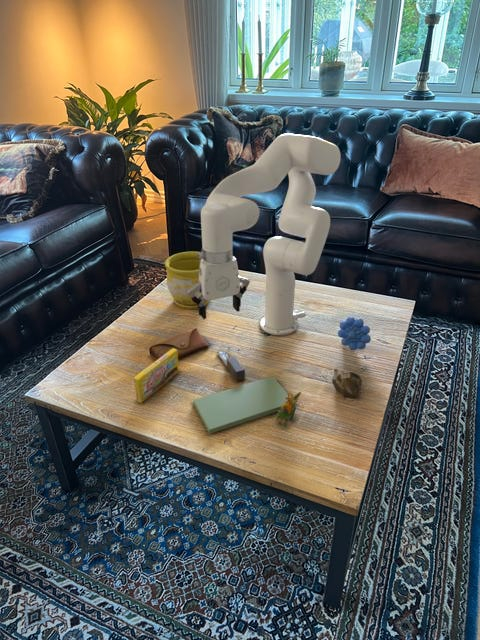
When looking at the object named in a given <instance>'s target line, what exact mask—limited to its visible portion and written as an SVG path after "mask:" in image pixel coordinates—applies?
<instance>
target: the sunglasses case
mask: <svg viewBox="0 0 480 640" xmlns="http://www.w3.org/2000/svg"><path fill="white" fill-rule="evenodd" d="M210 346H211V344H210V343H209V342H207V341H206V339H205V338H204V337H203V335H202V334H201V332H200V331H199V330H198V328H197V327H195V328H193V329H191V330H189V331H187V332H183V333H180V334H178V335H176V336H173V337H171V338H168V339H166V340H164V341H161V342H159V343H156V344H154V345H151V346H150V347H149V349H148V351H149V355H150V357H151V358H152V359H153V360H154V362H155V361H157V360H158V359H159V358H160V357H162V356H163V355H164V354H166V353H167V352H168V351H170V350H171V349H172V348H174V349H176V350H177V353H178V360H180V359H181V358H184V357H187V356H188V355H192V354H193V353H196V352H199V351H200V350H203V349H205V348H208V347H210Z"/></svg>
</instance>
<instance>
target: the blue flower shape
mask: <svg viewBox="0 0 480 640" xmlns="http://www.w3.org/2000/svg"><path fill="white" fill-rule="evenodd" d="M364 322H365V321H364V319H362V318H356V319H355V318H354V316H348V317H347V318H346V319H345V320H343V321H341V322H340V323H339V330H338V332H337V336H338V337H339V338H341V345H343V347H344V346H345V347H347V346H348V349H349V350H350V351H352V352H354V351H356V350H360V351H362V350H365V349H366V347H367V344H369V343H370V342H371V340H372V338H371V337H372V336H371V335H369V334H370V332H371V328H370V326H369V325H367V324H366V325H364V324H365V323H364Z"/></svg>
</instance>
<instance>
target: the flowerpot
mask: <svg viewBox="0 0 480 640" xmlns="http://www.w3.org/2000/svg"><path fill="white" fill-rule="evenodd" d="M200 252H201V251H183V252H179V253H175V254H172V255H171V256H169V257H168V258H166V260H164V268H165V270H166V271H165V272H166V285H167V289H168V292H169V294H170V296H172V298H173V302H174V303H175V304H176V305H177V306H178V307H180V308H183V309H187V310H196V309H197V310H198V304H196V303H195V302H193V301H192V299H191V298H190V296H189V295H188V294H187V290H189V289H190V288H192V287H193V286H195V285H196V284H197V283H199V269H200V262H201V258H199V259H198V256H197V254H198V253H200ZM202 259H203V258H202ZM199 294H200V292H199V291H197V292H196V293H195V294H194V295H195V296H196V297H198V296H199ZM210 302H211V300H207V301H206V302H205V304H204V305H205V306H207V305H209V303H210Z"/></svg>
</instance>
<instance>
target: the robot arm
mask: <svg viewBox="0 0 480 640" xmlns="http://www.w3.org/2000/svg"><path fill="white" fill-rule="evenodd" d="M341 159H342V157H341V151H340V148H339V147H338V145H336V144H335V143H333V142H329V141H328V140H326V139H325V140H324V139H323V138H320V137H316V136H312V135H306V134H305V135H304V134H294V133H283V134H280V135H278V136H277V137H276V138H275V139H274V140H273V141H272V142H271V143H270V145H268V147H267V148H266V149H265V150H264V151H263V153H262V154H261V155H260V156H259V157H258V159H257V160H256V161H255V162H254V164H252V165H249V166H247V167H244V168H242V169H240V170H239V171H236V172H234V173H231V174H230V175H228V176H226V177H225V178H223V179H222V180H221V181H220V182H219V183H218V184H217V185H216V186H215V188H214V189H213V190H212V191H211V192H210V194H209V195H208V196H207V199H206V201H205V204H204V206H202V208H201V209H200V227H201V245H202V247H201V251H199V252H200V253H198V254H197V256H198V259H199V258H201V262H200V269H199V283H197V284H196V285H195V286H193V287H192V288H190V289H189V290H187V294H188V295H189V296H190V298H191V299H192V301H193V302H195V303H196V304H198V308H197V314H198V315H199V316H200V317H201V318H202V320H207V308H206V305H204V304H205V302H206V301H207V300H210V301H214V300H219V299H224V298H229V297H232V308H233V309H234V310H235V311H236V312H240V311H241V310H240V308H241V307H242V301H241V300H242V298H243V296H244V294H245V293H246V291H247V288H248V287H249V285H250V283H251V281H250V279H249V278H247V277H244V276H240V271H239V267H238V261H237V258H236V257H235V256H234V249H233V247H234V245H233V243H234V241H233V233H235V232H240V231H246V230H248V229H251V228H252V227H253V226H254V225H256V223H258V221H259V217H260V209H259V206H258V204H257V203H256V202H255V201H254V200H251V199H249V198H244V197H245V196H251V195H256V194H257V195H258V194H262V193H267V192H271V191H273V190H275V189H277V188H278V186H279V185H280V184H281V183H282V181H283V180H284V179H285V178H286V176H288V189H287V191H286V196H285V199H284V201H283V205H282V207H281V212H280V214H279V218H278V222H277V225H278V229H279V230H280V231H281V232H283V233H285V234H288V235H291V236H296V237H299V238H303V239H305V241H300V240H297V239H293V238H289V237H286V236H278V235H277V236H276V235H275V236H273V237H269V238H268V239H267V241H266V242H265V243H264V246H263V251H262V252H263V253H262V256H263V261H264V268H265V295H264V297H265V298H264V316H263V317H262V318H261V319H260V322H259V326H260V328H261V330H262V331H264V332H265V333H267V334H269V335H272V336H273V335H274V336H285V335H286V336H287V335H289V334H292V333H293V332H295V331H296V330H297V328H298V322H297V320H298V319H302V318H303V319H304V318H306V311H301V312H299V310H298V309H294V307H295V292H296V291H295V290H296V277H295V274H298V275H303V276H310V275H311V274H313V273H314V272H315V271H316V268H317V266H318V264H319V261H320V260H321V259H320V258H321V255H322V253H323V250H324V247H325V244H326V241H327V238H328V235H329V231H330V228H331V216H330V214H329V212H328V211H327V210H325V209H323V208H321V207H316V206H313V204H314V200H315V198H316V194H317V187H316V184H315V181H314V179H313V177H312V174H317V175H322V176H330V175H332V174H334V173H335V172H336V171H337V170H338V168H339V167H340V164H341ZM202 258H203V259H202ZM197 291H199V292H200V294H199V296H198V297H196V296H195V295H194V294H195V293H196V292H197Z"/></svg>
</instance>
